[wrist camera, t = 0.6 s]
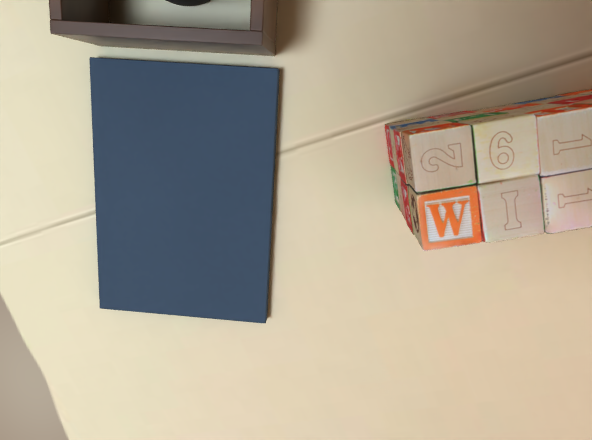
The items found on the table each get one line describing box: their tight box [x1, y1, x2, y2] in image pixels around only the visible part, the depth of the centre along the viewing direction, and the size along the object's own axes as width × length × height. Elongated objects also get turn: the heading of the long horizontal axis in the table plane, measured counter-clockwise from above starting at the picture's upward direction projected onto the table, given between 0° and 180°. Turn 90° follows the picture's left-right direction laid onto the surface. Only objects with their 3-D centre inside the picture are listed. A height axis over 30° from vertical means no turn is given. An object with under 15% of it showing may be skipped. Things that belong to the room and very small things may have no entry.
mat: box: [90, 57, 280, 323], centre depth 37 cm, size 20×14×1 cm
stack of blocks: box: [385, 89, 592, 251], centre depth 29 cm, size 21×6×12 cm, turn 100°
